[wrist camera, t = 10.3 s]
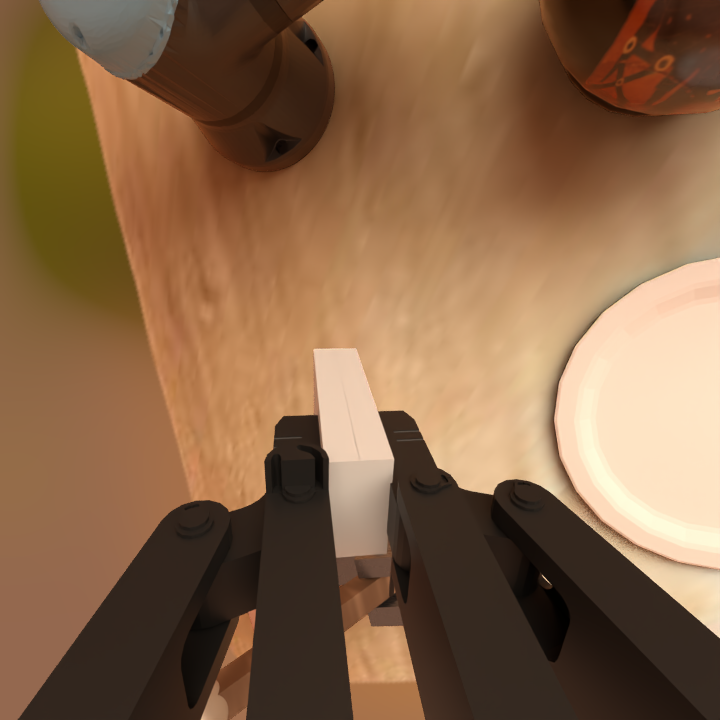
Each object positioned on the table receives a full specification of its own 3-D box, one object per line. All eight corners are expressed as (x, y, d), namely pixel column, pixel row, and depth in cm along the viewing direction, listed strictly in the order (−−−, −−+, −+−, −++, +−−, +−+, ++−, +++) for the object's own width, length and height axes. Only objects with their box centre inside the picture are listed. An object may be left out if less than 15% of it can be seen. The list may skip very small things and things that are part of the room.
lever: (403, 557, 43) (168, 726, 30) (413, 598, 44) (186, 781, 31) (376, 545, 47) (155, 690, 34) (385, 582, 47) (171, 740, 34)
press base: (422, 504, 49) (411, 547, 41) (440, 576, 50) (432, 632, 42) (281, 519, 54) (246, 560, 46) (299, 584, 55) (268, 636, 47)
